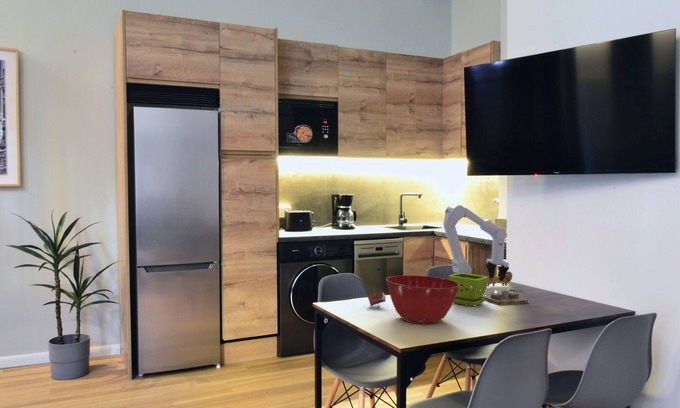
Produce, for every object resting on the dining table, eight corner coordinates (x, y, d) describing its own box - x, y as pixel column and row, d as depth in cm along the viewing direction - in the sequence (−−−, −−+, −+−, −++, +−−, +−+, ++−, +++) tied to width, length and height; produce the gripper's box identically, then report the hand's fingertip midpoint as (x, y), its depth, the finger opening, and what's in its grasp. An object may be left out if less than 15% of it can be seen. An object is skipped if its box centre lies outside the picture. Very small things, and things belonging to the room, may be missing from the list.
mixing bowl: (409, 307, 236) (411, 272, 236) (470, 320, 218) (472, 281, 218) (370, 318, 214) (371, 279, 214) (434, 334, 196) (436, 290, 196)
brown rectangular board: (498, 304, 249) (498, 294, 249) (481, 299, 260) (482, 288, 260) (527, 303, 256) (528, 292, 256) (510, 297, 267) (511, 287, 267)
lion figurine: (508, 287, 296) (509, 270, 295) (514, 289, 290) (514, 272, 290) (483, 287, 292) (484, 270, 292) (488, 289, 287) (489, 272, 287)
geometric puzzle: (364, 302, 233) (376, 288, 233) (364, 299, 240) (375, 285, 240) (377, 313, 233) (389, 298, 233) (376, 309, 240) (388, 295, 240)
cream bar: (485, 295, 269) (486, 287, 269) (482, 294, 272) (482, 286, 272) (508, 294, 275) (509, 286, 275) (504, 293, 278) (505, 285, 277)
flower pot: (475, 308, 240) (476, 279, 240) (446, 303, 249) (447, 275, 248) (488, 303, 251) (489, 276, 251) (459, 298, 260) (461, 272, 259)
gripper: (514, 253, 267) (512, 281, 268) (494, 250, 281) (493, 276, 281) (502, 254, 265) (501, 282, 265) (483, 250, 278) (482, 277, 279)
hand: (496, 279), depth 273 cm, fingers open, 7 cm apart
